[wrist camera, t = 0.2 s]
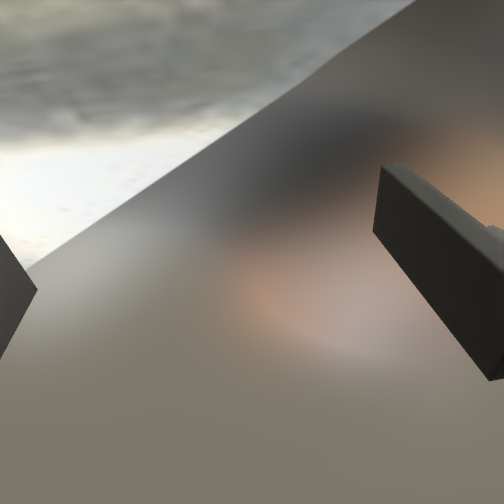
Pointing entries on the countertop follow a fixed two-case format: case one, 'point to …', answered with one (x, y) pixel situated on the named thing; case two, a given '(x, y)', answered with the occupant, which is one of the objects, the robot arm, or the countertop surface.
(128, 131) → the countertop surface
